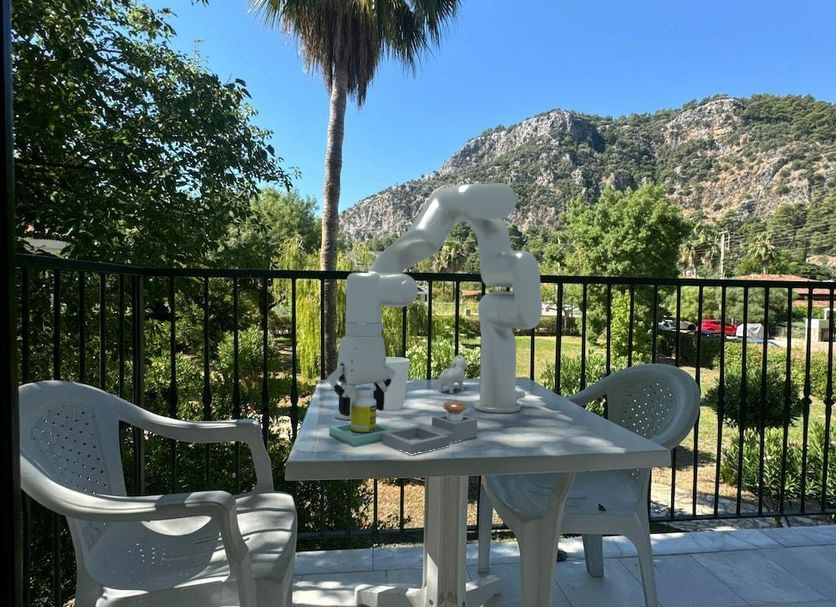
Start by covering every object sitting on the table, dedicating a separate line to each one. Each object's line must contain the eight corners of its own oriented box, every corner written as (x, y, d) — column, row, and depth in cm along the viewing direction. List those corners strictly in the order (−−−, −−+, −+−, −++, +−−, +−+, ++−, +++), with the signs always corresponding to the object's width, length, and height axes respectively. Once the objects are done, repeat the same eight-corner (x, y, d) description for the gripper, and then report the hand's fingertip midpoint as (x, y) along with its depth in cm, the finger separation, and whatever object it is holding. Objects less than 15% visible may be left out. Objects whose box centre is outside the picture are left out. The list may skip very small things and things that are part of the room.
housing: (450, 428, 120) (451, 411, 120) (481, 438, 113) (482, 420, 113) (381, 443, 108) (382, 423, 108) (411, 455, 101) (411, 435, 100)
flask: (369, 415, 131) (370, 375, 131) (356, 422, 124) (357, 380, 124) (343, 412, 134) (344, 373, 133) (329, 419, 127) (330, 378, 126)
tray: (367, 428, 119) (368, 420, 119) (393, 438, 111) (394, 430, 111) (329, 435, 113) (329, 427, 113) (353, 447, 105) (354, 438, 105)
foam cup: (395, 414, 133) (396, 363, 132) (366, 408, 138) (367, 359, 137) (415, 407, 141) (416, 359, 140) (387, 402, 146) (388, 356, 145)
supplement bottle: (373, 438, 109) (374, 391, 109) (347, 436, 110) (348, 390, 110) (377, 431, 115) (378, 386, 115) (353, 429, 115) (354, 385, 115)
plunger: (454, 431, 118) (455, 400, 118) (470, 436, 114) (471, 404, 114) (438, 434, 115) (438, 403, 114) (453, 440, 111) (454, 407, 111)
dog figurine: (470, 388, 169) (471, 356, 168) (451, 395, 158) (452, 360, 157) (456, 386, 171) (457, 354, 171) (436, 392, 161) (437, 358, 160)
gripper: (386, 328, 120) (384, 403, 120) (318, 330, 109) (317, 414, 109) (406, 330, 114) (404, 410, 115) (336, 333, 103) (335, 422, 104)
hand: (361, 411), depth 112 cm, fingers open, 8 cm apart
